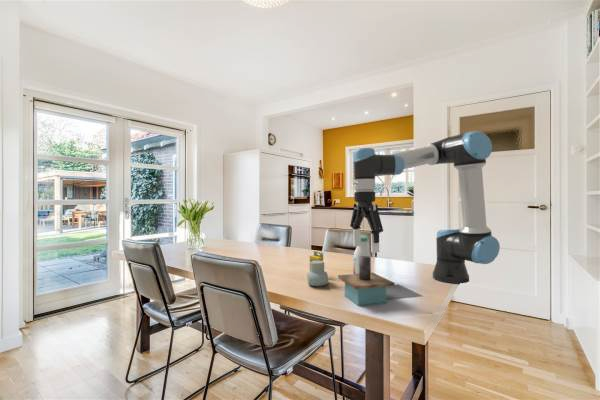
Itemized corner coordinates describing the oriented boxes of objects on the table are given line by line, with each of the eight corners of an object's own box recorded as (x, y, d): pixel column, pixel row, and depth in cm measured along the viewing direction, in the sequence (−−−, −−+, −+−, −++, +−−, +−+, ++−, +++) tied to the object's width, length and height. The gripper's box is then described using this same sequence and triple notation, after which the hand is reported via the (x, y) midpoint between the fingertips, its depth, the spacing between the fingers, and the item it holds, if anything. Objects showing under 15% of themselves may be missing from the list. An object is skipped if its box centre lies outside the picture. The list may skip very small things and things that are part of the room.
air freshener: (328, 288, 126) (328, 264, 126) (309, 288, 125) (309, 264, 125) (325, 281, 137) (324, 259, 136) (306, 281, 136) (306, 259, 136)
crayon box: (309, 275, 147) (309, 251, 146) (314, 274, 148) (314, 251, 148) (318, 278, 141) (318, 253, 140) (323, 277, 142) (323, 253, 142)
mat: (398, 285, 129) (398, 284, 129) (423, 297, 114) (423, 296, 114) (364, 288, 125) (364, 287, 125) (386, 301, 110) (386, 300, 110)
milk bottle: (374, 281, 136) (374, 237, 136) (365, 285, 130) (365, 238, 130) (359, 278, 141) (359, 235, 141) (350, 281, 135) (350, 237, 135)
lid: (372, 275, 120) (372, 252, 120) (394, 285, 105) (394, 259, 105) (337, 277, 116) (337, 254, 116) (355, 289, 101) (355, 262, 101)
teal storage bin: (370, 294, 117) (370, 276, 117) (386, 304, 107) (386, 284, 107) (344, 297, 114) (344, 278, 114) (358, 307, 104) (358, 287, 104)
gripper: (341, 191, 121) (342, 244, 121) (372, 190, 97) (373, 255, 97) (358, 191, 123) (359, 243, 124) (393, 190, 99) (394, 254, 100)
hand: (365, 248), depth 110 cm, fingers open, 13 cm apart
